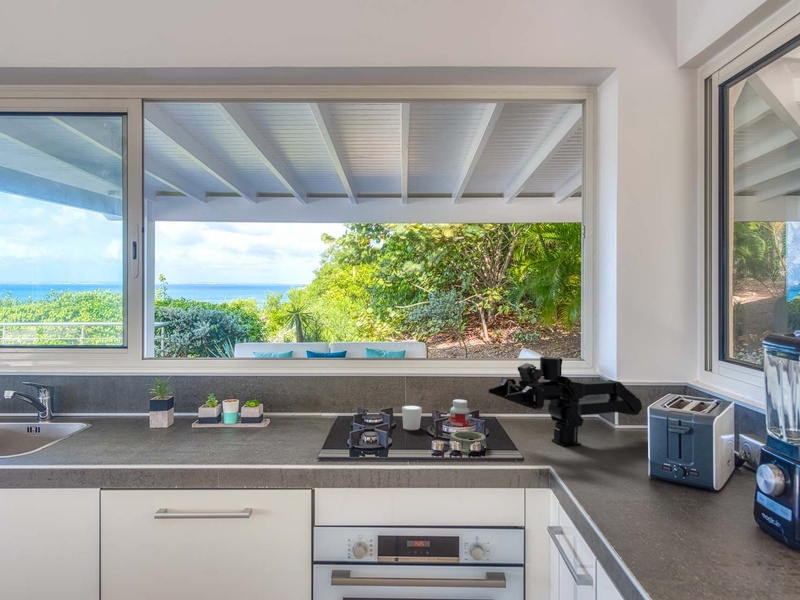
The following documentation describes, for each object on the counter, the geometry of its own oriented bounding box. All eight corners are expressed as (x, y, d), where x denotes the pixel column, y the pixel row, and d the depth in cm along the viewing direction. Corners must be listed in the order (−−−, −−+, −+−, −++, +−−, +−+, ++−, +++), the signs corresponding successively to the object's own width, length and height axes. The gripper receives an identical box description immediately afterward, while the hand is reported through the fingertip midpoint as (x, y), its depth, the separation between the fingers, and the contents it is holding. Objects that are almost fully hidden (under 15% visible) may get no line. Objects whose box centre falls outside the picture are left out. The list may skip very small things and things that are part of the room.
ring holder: (474, 440, 155) (475, 429, 155) (493, 451, 145) (493, 439, 145) (442, 443, 151) (443, 432, 151) (459, 454, 141) (460, 442, 141)
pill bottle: (446, 434, 161) (446, 400, 161) (456, 430, 166) (457, 397, 166) (462, 438, 157) (463, 403, 157) (472, 434, 162) (473, 400, 162)
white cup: (419, 431, 165) (420, 410, 165) (399, 429, 166) (399, 408, 166) (422, 425, 171) (423, 405, 171) (403, 424, 173) (403, 404, 173)
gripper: (524, 360, 160) (481, 362, 154) (561, 369, 142) (515, 371, 137) (523, 395, 160) (480, 398, 155) (561, 408, 142) (514, 411, 137)
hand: (496, 394), depth 146 cm, fingers open, 9 cm apart
